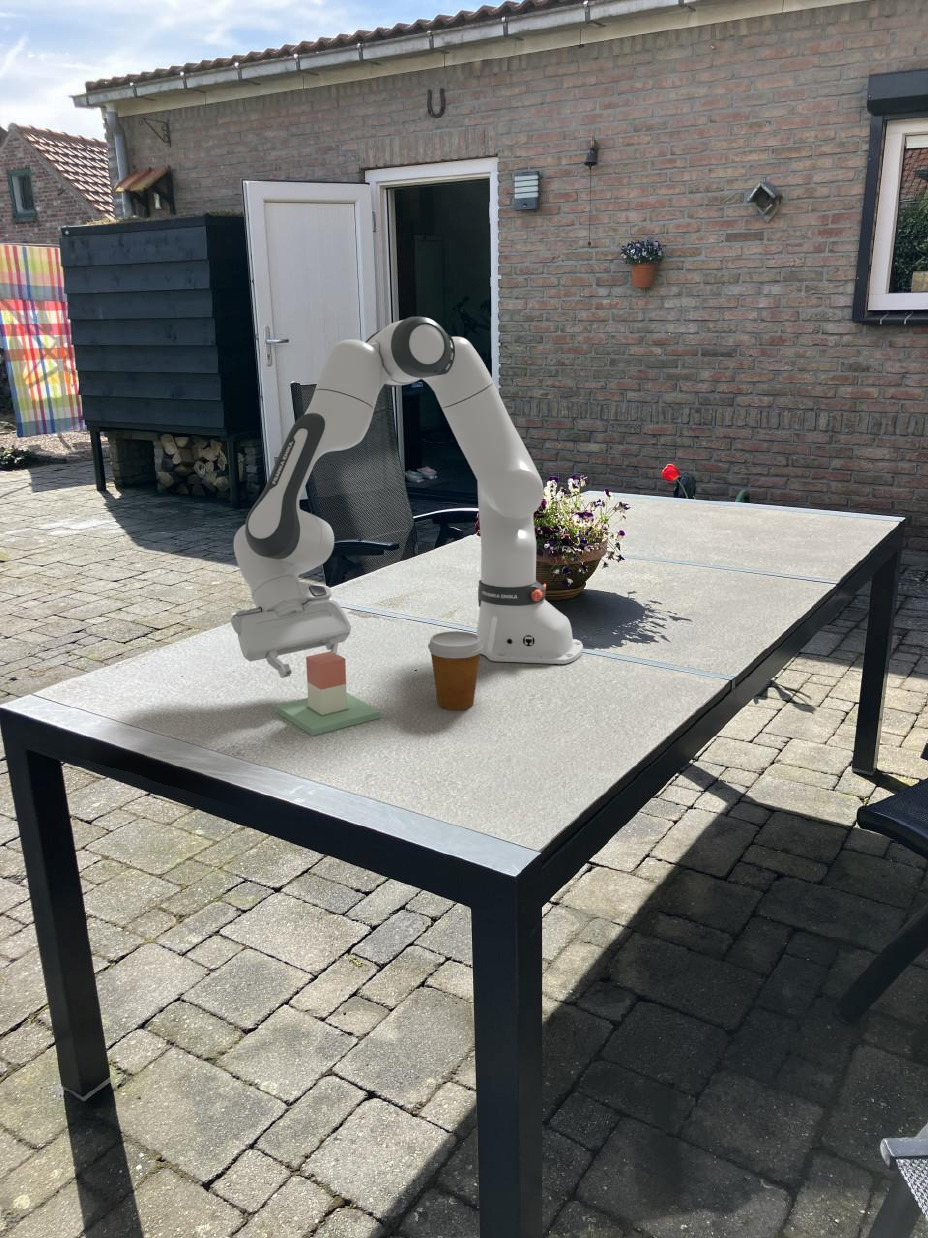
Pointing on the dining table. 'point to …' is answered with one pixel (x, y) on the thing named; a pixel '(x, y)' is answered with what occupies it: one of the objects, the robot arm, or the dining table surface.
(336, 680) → the pink and cream block
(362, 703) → the baseplate
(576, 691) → the dining table surface
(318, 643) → the robot arm
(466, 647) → the disposable coffee cup
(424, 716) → the dining table surface
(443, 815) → the dining table surface
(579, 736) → the dining table surface
